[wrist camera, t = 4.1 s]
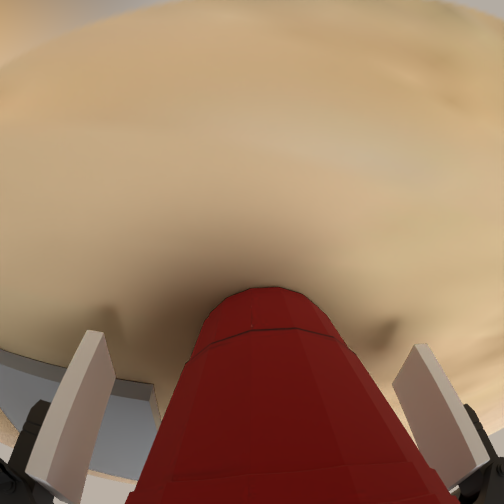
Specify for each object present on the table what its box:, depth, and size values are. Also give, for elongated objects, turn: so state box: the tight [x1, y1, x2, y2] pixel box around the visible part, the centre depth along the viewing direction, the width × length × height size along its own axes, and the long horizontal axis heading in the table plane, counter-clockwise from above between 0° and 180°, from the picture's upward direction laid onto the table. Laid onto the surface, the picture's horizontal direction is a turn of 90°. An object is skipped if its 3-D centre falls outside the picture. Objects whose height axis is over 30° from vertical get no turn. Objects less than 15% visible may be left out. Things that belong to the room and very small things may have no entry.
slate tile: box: [0, 349, 161, 481], centre depth 17 cm, size 15×15×1 cm
